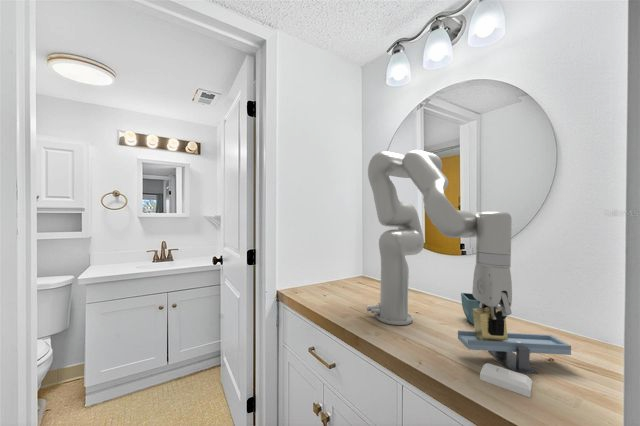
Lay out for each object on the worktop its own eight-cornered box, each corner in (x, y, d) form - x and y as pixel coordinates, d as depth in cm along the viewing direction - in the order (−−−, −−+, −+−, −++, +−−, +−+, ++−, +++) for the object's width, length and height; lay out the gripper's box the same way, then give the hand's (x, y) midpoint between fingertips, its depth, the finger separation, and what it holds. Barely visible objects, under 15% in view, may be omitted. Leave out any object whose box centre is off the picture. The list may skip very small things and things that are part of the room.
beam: (469, 350, 66) (470, 341, 66) (456, 337, 73) (457, 329, 73) (572, 356, 65) (572, 346, 65) (549, 342, 72) (549, 333, 72)
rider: (483, 341, 68) (480, 313, 68) (475, 335, 71) (472, 308, 72) (507, 340, 67) (504, 312, 67) (498, 333, 71) (495, 306, 71)
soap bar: (483, 371, 65) (484, 360, 65) (531, 388, 59) (531, 375, 59) (479, 381, 61) (480, 369, 61) (530, 399, 55) (530, 386, 55)
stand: (511, 372, 64) (512, 349, 64) (487, 351, 74) (488, 331, 74) (538, 373, 64) (538, 350, 64) (510, 352, 74) (510, 332, 74)
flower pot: (496, 329, 89) (497, 302, 90) (467, 326, 91) (468, 299, 91) (486, 319, 98) (486, 294, 98) (459, 316, 100) (460, 292, 100)
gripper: (462, 254, 78) (461, 318, 78) (496, 264, 61) (495, 346, 61) (489, 255, 78) (488, 319, 77) (531, 266, 61) (529, 347, 61)
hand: (491, 330), depth 69 cm, fingers closed on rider, 3 cm apart
